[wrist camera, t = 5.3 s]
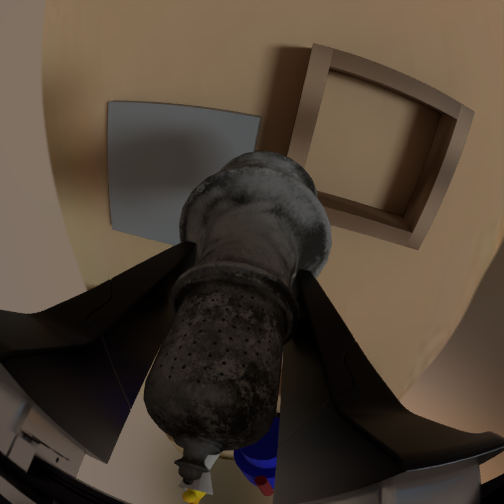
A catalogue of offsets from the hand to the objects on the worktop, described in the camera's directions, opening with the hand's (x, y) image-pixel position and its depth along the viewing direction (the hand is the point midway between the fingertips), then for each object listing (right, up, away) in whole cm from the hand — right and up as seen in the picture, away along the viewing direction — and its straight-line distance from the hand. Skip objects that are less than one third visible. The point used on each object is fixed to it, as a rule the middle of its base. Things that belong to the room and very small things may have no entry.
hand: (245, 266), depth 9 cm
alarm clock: (+4, -30, +36) cm, 47 cm away
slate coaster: (-6, +6, +12) cm, 15 cm away
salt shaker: (+1, +3, +4) cm, 5 cm away
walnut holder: (+9, +8, +8) cm, 14 cm away
